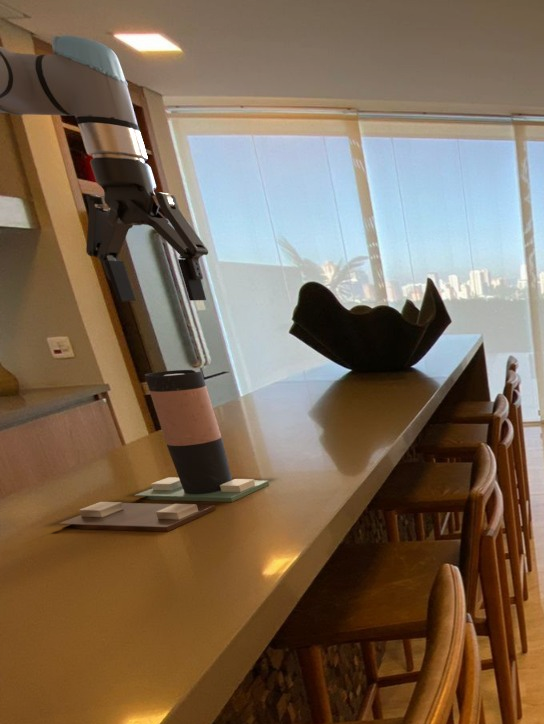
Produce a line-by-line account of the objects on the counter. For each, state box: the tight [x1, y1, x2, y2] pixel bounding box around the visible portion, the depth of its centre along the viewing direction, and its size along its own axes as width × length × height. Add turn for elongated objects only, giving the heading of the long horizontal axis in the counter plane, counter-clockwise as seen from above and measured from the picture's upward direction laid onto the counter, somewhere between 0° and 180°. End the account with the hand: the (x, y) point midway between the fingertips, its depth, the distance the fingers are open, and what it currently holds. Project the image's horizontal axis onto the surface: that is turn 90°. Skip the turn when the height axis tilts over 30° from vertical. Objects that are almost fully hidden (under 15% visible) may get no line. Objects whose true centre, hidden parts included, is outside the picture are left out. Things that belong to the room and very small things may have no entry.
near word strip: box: [59, 501, 216, 533], centre depth 88 cm, size 18×9×2 cm, turn 85°
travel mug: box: [144, 369, 233, 494], centre depth 96 cm, size 8×8×20 cm
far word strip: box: [135, 476, 270, 503], centre depth 100 cm, size 18×9×2 cm, turn 85°
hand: (162, 301), depth 99 cm, fingers open, 13 cm apart
